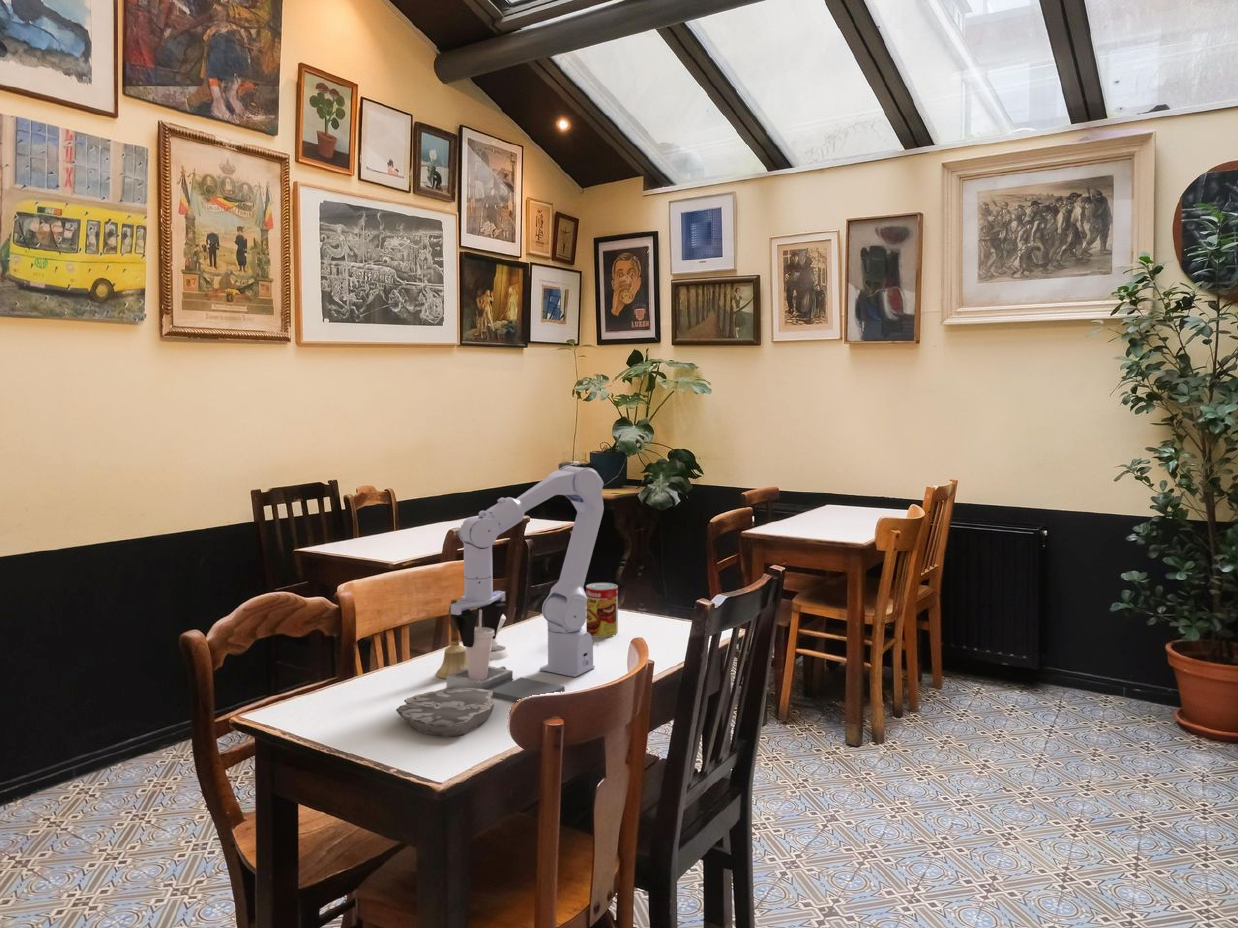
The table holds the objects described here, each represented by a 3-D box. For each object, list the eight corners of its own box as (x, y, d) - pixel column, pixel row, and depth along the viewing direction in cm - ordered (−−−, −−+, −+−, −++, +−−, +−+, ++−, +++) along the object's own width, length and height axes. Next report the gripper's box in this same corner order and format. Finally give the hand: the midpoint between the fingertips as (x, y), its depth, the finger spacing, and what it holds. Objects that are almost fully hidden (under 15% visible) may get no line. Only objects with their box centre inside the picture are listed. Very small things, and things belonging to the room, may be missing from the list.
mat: (564, 691, 174) (564, 686, 174) (534, 705, 166) (534, 700, 166) (521, 681, 180) (521, 677, 180) (489, 695, 172) (489, 690, 172)
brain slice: (419, 701, 170) (418, 686, 169) (504, 704, 168) (504, 689, 168) (380, 739, 150) (380, 723, 150) (476, 743, 148) (476, 726, 148)
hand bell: (428, 673, 186) (426, 600, 185) (459, 665, 192) (458, 593, 191) (451, 682, 180) (450, 606, 179) (483, 673, 186) (482, 599, 185)
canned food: (582, 630, 220) (581, 584, 220) (610, 627, 223) (610, 581, 223) (593, 638, 213) (593, 590, 212) (622, 635, 216) (622, 587, 215)
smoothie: (468, 682, 173) (470, 613, 173) (457, 675, 179) (459, 607, 179) (498, 679, 176) (500, 610, 176) (486, 671, 182) (488, 605, 182)
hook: (515, 641, 192) (489, 623, 192) (492, 678, 197) (468, 659, 198) (529, 626, 198) (505, 608, 199) (507, 662, 203) (483, 644, 204)
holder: (521, 678, 182) (521, 666, 182) (482, 695, 172) (482, 683, 171) (486, 671, 187) (486, 659, 187) (446, 687, 177) (446, 675, 176)
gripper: (486, 568, 185) (487, 631, 186) (438, 580, 172) (440, 647, 173) (512, 571, 181) (513, 635, 182) (465, 584, 169) (466, 653, 170)
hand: (479, 642), depth 178 cm, fingers closed on smoothie, 6 cm apart
